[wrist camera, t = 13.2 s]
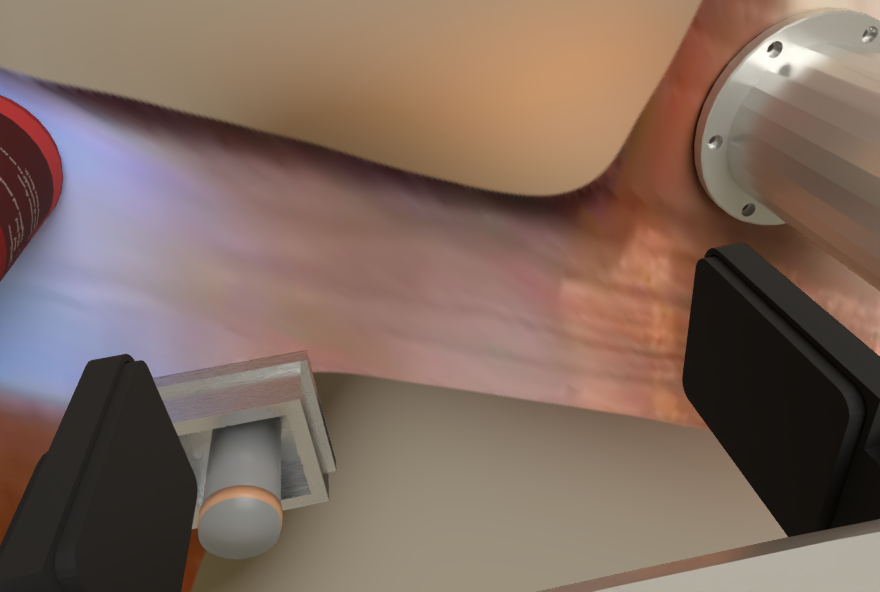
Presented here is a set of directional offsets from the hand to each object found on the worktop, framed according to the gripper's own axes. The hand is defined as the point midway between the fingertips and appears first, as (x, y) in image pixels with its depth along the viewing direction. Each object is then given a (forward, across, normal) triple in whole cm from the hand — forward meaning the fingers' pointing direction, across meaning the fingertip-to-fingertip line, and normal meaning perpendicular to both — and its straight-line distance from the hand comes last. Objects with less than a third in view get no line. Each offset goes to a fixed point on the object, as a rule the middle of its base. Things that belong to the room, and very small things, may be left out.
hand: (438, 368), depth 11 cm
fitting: (+26, +14, +23) cm, 38 cm away
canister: (+25, +11, +23) cm, 36 cm away
